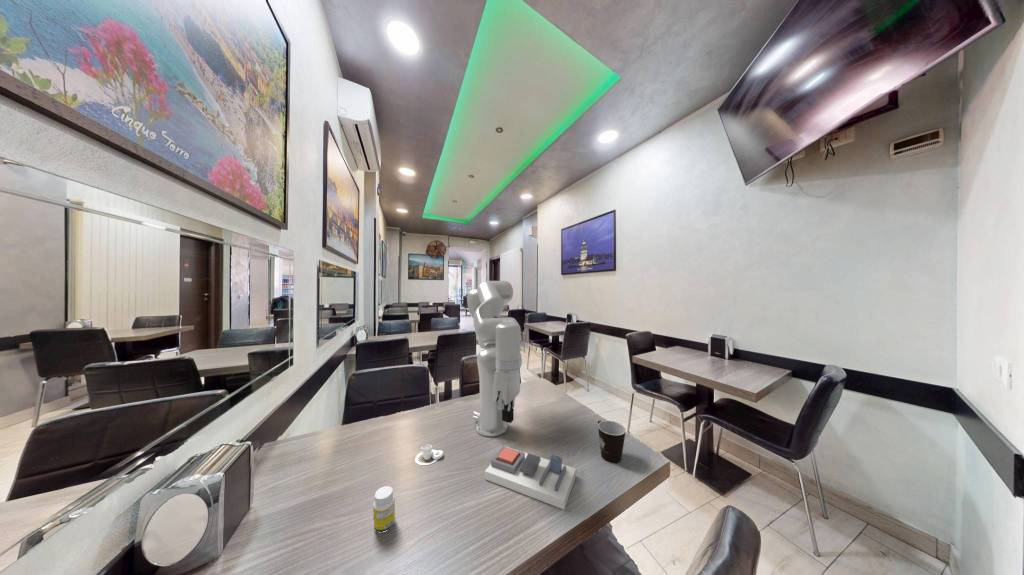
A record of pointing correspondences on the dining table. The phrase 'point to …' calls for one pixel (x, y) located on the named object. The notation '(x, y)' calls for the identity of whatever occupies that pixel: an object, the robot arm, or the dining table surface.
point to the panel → (533, 479)
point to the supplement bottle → (384, 509)
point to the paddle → (556, 464)
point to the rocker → (530, 464)
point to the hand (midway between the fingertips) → (507, 420)
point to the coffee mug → (611, 440)
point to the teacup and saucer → (428, 454)
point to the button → (508, 456)
